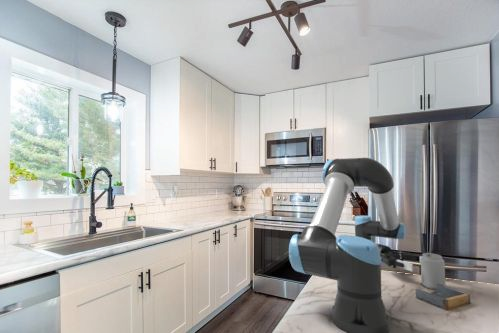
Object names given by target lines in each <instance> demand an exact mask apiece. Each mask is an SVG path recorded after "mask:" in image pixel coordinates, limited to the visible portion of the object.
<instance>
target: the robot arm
mask: <svg viewBox="0 0 499 333" xmlns="http://www.w3.org/2000/svg"><path fill="white" fill-rule="evenodd" d="M322 182H323V184H324V185H325V188H324V191H323V193H322V195H321V197H320V200H319V203H318V204H317V208H316V210H315V212H314V215H313V216H312V220H311V223H310V224H308V225H306V226H304V228H303V230H302V232H301V234H299V233H296V234H293V235H292V237H291V238H290V241H289V244H288V260H289V262H290V264H291V267H292V269H293V270H294V271H295V272H298V273H302V274H305V275H310V276H315V277H319V278H323V279H329V280H333V281H336V282H337V285H336V286H337V287H336V288H337V292H336V294H335V295H336V296H335V299H334V303H333V305H332V308H331V321H332V322H333V324H335V326H337V327H338V328H339V329H341V330H343V331H344V332H347V333H389V331H390V317H389V315H388V313H387V310H386V307H385V303H384V300H383V298H382V265H381V264H382V263H383V264H385V265H386V266H388V267H392V269H396V268H400V269H402V270H406V271H409V272H414V263H410V262H419V263H420V264H421V257H422V256H423V255H422V254H423V253H413V252H412V253H411V252H407V251H401V250H397V251H396V250H392V249H391V247H390V246H388V245H385V244H381V243H378V242H375V241H373V240H372V238H373V237H377V238H383V239H384V238H385V239H393V240H405V238H406V224H404V222H399V217H398V213H397V208H396V207H397V206H396V203H395V198H394V193H393V192H394V191H393V188H394V187H395V186H394V185H395V184H394V179H393V176H392V175H391V173H390V171H389V170H388V169H387V168H386V167H385V165H383V164H382V163H380V162H379V161H377V160H375V159H374V158H371V157H370V158H369V157H352V158H351V157H350V158H334V159H329V160H326V162H325V164H324V166H323V168H322ZM356 187H358V188H359V187H360V188H362V187H363V188H364V187H365V188H367V189H368V191H369V192H371V193H372V197H373V198H372V199H373V202H374V205H375V208H376V211H377V216H378V219H379V220H373V219H372V217H371V216H369V215H356V216H354V217H355V219H354V232H355V233H354V234H355V235H351V234H350V235H348V234H340V235H337V236H336V232H337V228H338V225H339V223H340V222H339V221H340V219H341V216H342V213H343V210H344V207H345V204H346V201H347V198H348V195H349V194H351V193H352V192H354V189H355V188H356ZM407 261H409V262H407Z"/></svg>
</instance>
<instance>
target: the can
mask: <svg viewBox="0 0 499 333" xmlns="http://www.w3.org/2000/svg"><path fill="white" fill-rule="evenodd" d="M421 254H422V255H423V256H422V257H421V263H420V272H421V273H420V274H421V275H420V278H421V284H422V285H423V286H424V287H425V288H427V289H430V290H434V291H437V284H441V285H444V286H446V269H445V268H446V267H445V266H446V265H445V260H444V259H443V256H442V255H440V254H438V253H437V254H436V253H432V252H424V253H421Z"/></svg>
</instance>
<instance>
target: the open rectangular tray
mask: <svg viewBox="0 0 499 333" xmlns="http://www.w3.org/2000/svg"><path fill="white" fill-rule="evenodd" d="M415 298H416V299H418V300H420V301H422V302H425V303H427V304H430V305H431V306H434V307H437V308H440V309H441V310H444V311H450V310H454V309H458V308H463V307H465V306H469V305H471V303H472V302H471V294H469V293H467V292H464V291H461V290H458V289H455V288H452V287H450V286H446V285H445V286H444V285H441V284H437V290H434V291H432V292H431V291H430V292H429V291H425V290H423V289H421V288H415Z"/></svg>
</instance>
